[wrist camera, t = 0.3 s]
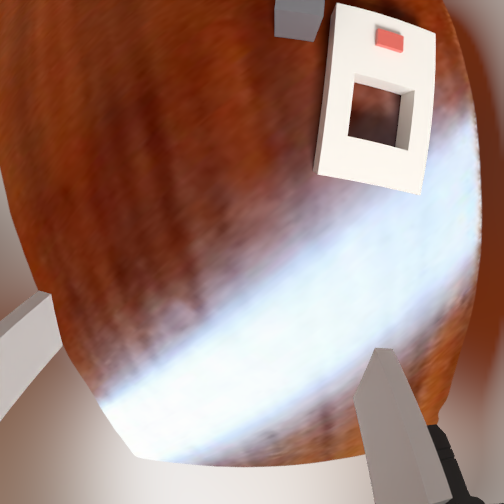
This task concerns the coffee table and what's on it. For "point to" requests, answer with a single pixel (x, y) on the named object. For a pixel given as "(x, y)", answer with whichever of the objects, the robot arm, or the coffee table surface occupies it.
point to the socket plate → (383, 77)
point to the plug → (298, 18)
